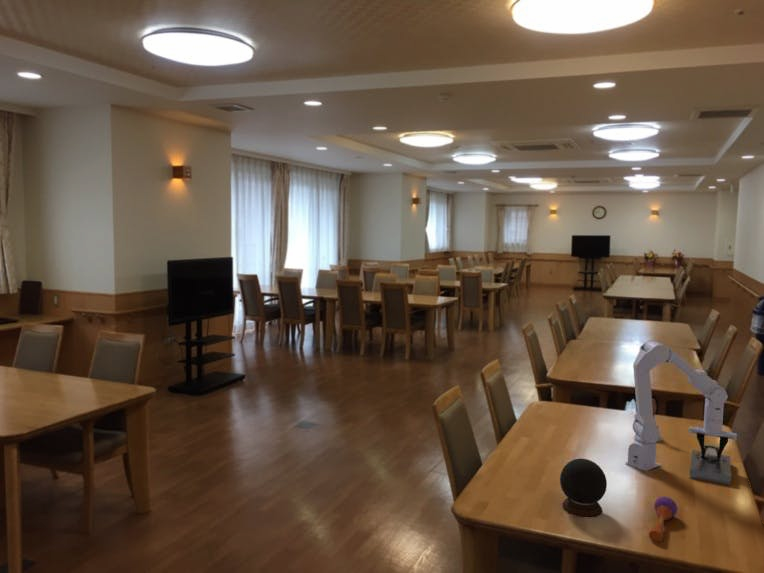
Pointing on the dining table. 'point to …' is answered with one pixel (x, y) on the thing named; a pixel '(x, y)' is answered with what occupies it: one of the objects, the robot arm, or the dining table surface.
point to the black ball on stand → (583, 487)
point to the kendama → (662, 516)
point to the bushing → (711, 452)
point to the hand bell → (654, 416)
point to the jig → (710, 468)
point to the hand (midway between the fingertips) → (711, 456)
